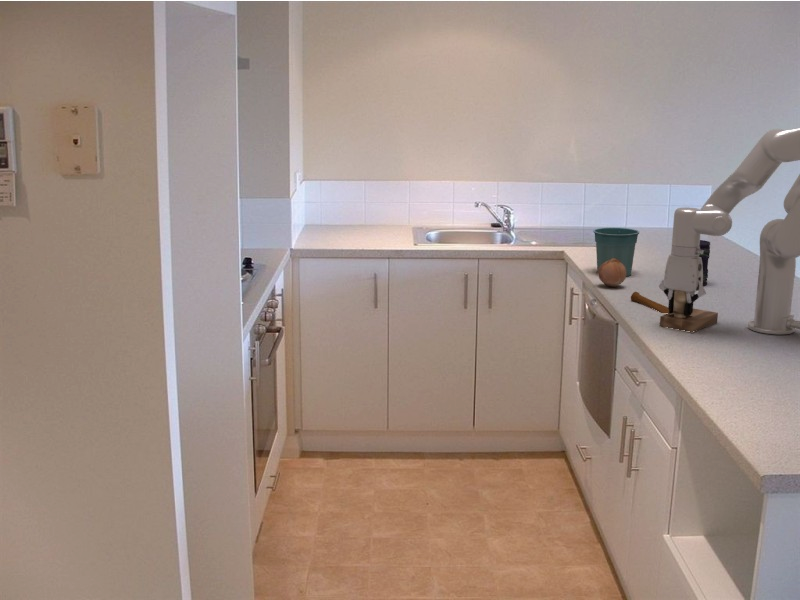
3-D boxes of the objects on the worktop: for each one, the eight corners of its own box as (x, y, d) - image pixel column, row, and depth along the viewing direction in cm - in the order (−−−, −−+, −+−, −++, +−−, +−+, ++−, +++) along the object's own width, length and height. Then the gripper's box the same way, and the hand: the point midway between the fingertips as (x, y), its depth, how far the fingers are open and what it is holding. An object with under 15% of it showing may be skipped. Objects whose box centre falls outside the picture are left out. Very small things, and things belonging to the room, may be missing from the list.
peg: (689, 321, 273) (692, 287, 270) (682, 323, 270) (685, 289, 268) (676, 318, 275) (678, 285, 273) (669, 321, 272) (672, 287, 270)
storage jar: (713, 284, 330) (716, 242, 326) (694, 288, 324) (698, 245, 321) (690, 279, 338) (693, 238, 334) (671, 282, 332) (674, 240, 329)
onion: (616, 283, 331) (618, 255, 328) (630, 289, 322) (632, 260, 320) (592, 285, 328) (593, 256, 325) (606, 290, 319) (608, 261, 317)
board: (717, 322, 278) (718, 312, 277) (692, 332, 266) (693, 322, 265) (685, 316, 284) (686, 307, 284) (659, 326, 273) (660, 316, 272)
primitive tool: (679, 314, 289) (680, 303, 288) (665, 316, 287) (666, 304, 286) (638, 301, 306) (638, 290, 305) (624, 303, 304) (625, 292, 303)
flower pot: (607, 280, 336) (609, 235, 332) (582, 271, 351) (584, 228, 347) (645, 277, 342) (648, 233, 338) (619, 268, 357) (622, 226, 353)
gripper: (719, 253, 265) (713, 317, 269) (664, 246, 276) (659, 307, 280) (707, 257, 260) (701, 321, 264) (651, 249, 271) (647, 311, 275)
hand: (680, 313), depth 272 cm, fingers closed on peg, 4 cm apart
